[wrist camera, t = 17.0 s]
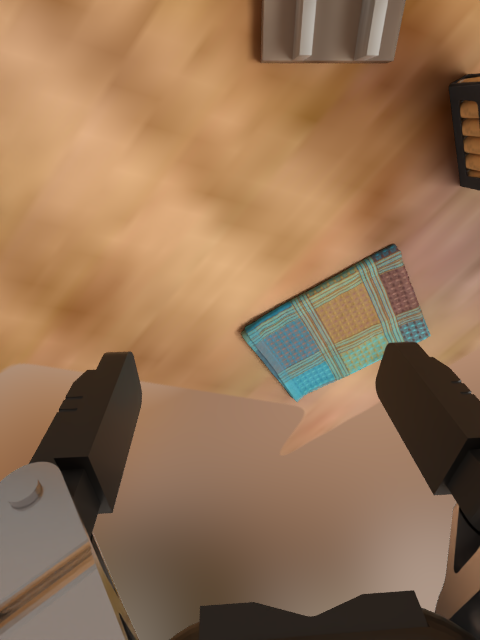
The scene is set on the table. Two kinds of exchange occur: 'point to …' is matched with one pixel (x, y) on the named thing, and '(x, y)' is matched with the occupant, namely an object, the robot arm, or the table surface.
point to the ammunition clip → (467, 128)
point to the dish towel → (339, 324)
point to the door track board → (330, 31)
